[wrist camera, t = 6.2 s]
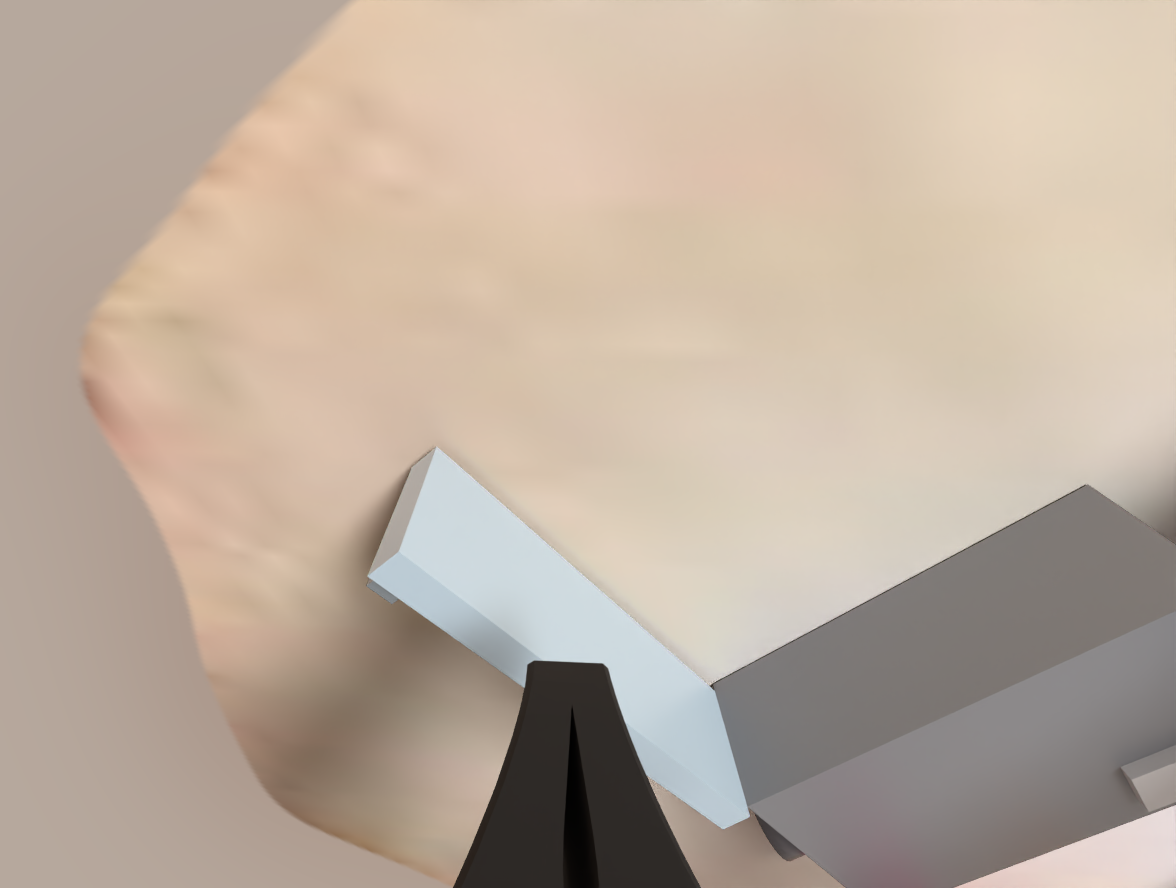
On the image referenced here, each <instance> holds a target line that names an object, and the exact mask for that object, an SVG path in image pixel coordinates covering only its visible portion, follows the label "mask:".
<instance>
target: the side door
mask: <svg viewBox="0 0 1176 888" xmlns="http://www.w3.org/2000/svg"><path fill="white" fill-rule="evenodd" d="M367 576H368V577H369V580H368V583H367V585H366V586H367V587H368V588H370V589H371V590H372V591H374V592H375V593H377V594H378V595H380V596H381V597H382V598H384V599H385V600H387V601H388V602H390V603H391V604H393V603H394V602H396V601H397V600H398V599H400V600H401V601H403V602H404V603H405V604H407V605H408V606H410V607H411V608H412V609H414V610H415V611H417V612H418V613H420V614H421V615H422V616H424V617H425V618H427V619H428V620H429V621H431V622H432V623H434V624H435V625H436V626H438V627H439V628H441V629H442V630H443V631H445V632H446V633H448V634H449V635H450V636H452V637H453V638H455V639H456V640H457V641H459V642H460V643H462V644H463V645H464V646H466V647H467V648H469V649H470V650H471V651H473V652H474V653H476V654H477V655H478V656H480V657H481V658H483V659H484V660H486V661H487V662H488V663H490V664H491V665H493V666H494V667H495V668H497V669H498V670H500V671H501V672H502V673H504V674H505V675H507V676H508V677H509V678H511V679H512V680H514V681H515V682H516V683H518V684H519V685H521V686H522V687H523V688H525V682H526V673H527V664H529V663H531V662H532V661H534V660H538V661H561V662H583V663H603V664H604V665H605V666H606V667H607V668H608V669H609V673H610V677H611V681H612V684H613V688H614V691H615V694H616V697H617V700H618V704H619V706H620V709H621V712H622V715H623V718H624V721H625V723H626V726H627V729H628V731H629V734H630V737H631V739H632V742H633V745H634V747H635V750H636V752H637V755H638V757H639V759H640V762H641V764H642V766H643V769H644V771H645V773H646V775H647V776H648V777H650V778H651V779H653V780H654V781H655V782H657V783H658V784H660V785H661V786H662V787H664V788H665V789H667V790H668V791H669V792H671V793H672V794H674V795H675V796H677V797H678V798H679V799H681V800H682V801H684V802H685V803H686V804H688V805H689V806H691V807H692V808H693V809H695V810H696V811H698V812H699V813H700V814H702V815H703V816H705V817H706V818H707V819H709V820H710V821H712V822H713V823H714V824H716V825H717V826H719V827H720V828H721V829H726V828H728V827H730V826H732V825H734V824H736V823H738V822H740V821H742V820H745V819H747V818H749V817H750V814H749V811H748V807H747V804H746V800H745V797H744V793H743V789H742V786H741V782H740V779H739V775H738V772H737V768H736V765H735V761H734V757H733V754H732V750H731V747H730V743H729V740H728V736H727V733H726V729H725V725H724V722H723V718H722V715H721V711H720V708H719V704H718V701H717V697H716V693H715V691H714V690H713V689H712V688H711V687H710V686H709V685H707V684H706V683H705V682H704V681H703V680H702V679H701V678H699V677H698V676H697V675H696V674H695V673H694V672H693V671H692V670H690V669H689V668H688V667H687V666H686V665H685V664H684V663H682V662H681V661H680V660H679V659H678V658H677V657H676V656H674V655H673V654H672V653H671V652H670V651H669V650H668V649H667V648H665V647H664V646H663V645H662V644H661V643H660V642H659V641H657V640H656V639H655V638H654V637H653V636H652V635H651V634H649V633H648V632H647V631H646V630H645V629H644V628H643V627H642V626H640V625H639V624H638V623H637V622H636V621H635V620H634V619H632V618H631V617H630V616H629V615H628V614H627V613H626V612H624V611H623V610H622V609H621V608H620V607H619V606H618V605H617V604H615V603H614V602H613V601H612V600H611V599H610V598H609V597H607V596H606V595H605V594H604V593H603V592H602V591H601V590H599V589H598V588H597V587H596V586H595V585H594V584H593V583H591V582H590V581H589V580H588V579H587V578H586V577H585V576H584V575H582V574H581V573H580V572H579V571H578V570H577V569H576V568H574V567H573V566H572V565H571V564H570V563H569V562H568V561H566V560H565V559H564V558H563V557H562V556H561V555H560V554H559V553H557V552H556V551H555V550H554V549H553V548H552V547H551V546H549V545H548V544H547V543H546V542H545V541H544V540H543V539H541V538H540V537H539V536H538V535H537V534H536V533H535V532H534V531H532V530H531V529H530V528H529V527H528V526H527V525H526V524H524V523H523V522H522V521H521V520H520V519H519V518H518V517H516V516H515V515H514V514H513V513H512V512H511V511H510V510H509V509H507V508H506V507H505V506H504V505H503V504H502V503H501V502H499V501H498V500H497V499H496V498H495V497H494V496H493V495H491V494H490V493H489V492H488V491H487V490H486V489H485V488H483V487H482V486H481V485H480V484H479V483H478V482H477V481H476V480H474V479H473V478H472V477H471V476H470V475H469V474H468V473H466V472H465V471H464V470H463V469H462V468H461V467H460V466H458V465H457V464H456V463H455V462H454V461H453V460H452V459H451V458H449V457H448V456H447V455H446V454H445V453H444V452H443V451H441V450H440V449H439V448H438V447H435V448H434V449H433V450H432V451H431V452H429V453H428V454H427V455H426V456H425V457H423V458H422V459H421V460H420V461H418V462H417V463H416V464H415V465H414V466H412V468H411V471H410V473H409V475H408V478H407V480H406V483H405V485H404V488H403V490H402V493H401V495H400V497H399V500H398V502H397V505H396V507H395V510H394V512H393V514H392V517H391V519H390V522H389V524H388V527H387V529H386V532H385V534H384V536H383V539H382V541H381V544H380V546H379V549H378V551H377V553H376V556H375V558H374V561H373V563H372V566H371V568H370V571H369V573H368V575H367Z"/></svg>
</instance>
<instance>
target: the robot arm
mask: <svg viewBox="0 0 1176 888" xmlns="http://www.w3.org/2000/svg"><path fill="white" fill-rule="evenodd" d="M453 888H701V887H700V885H699V883H698V881H697V879H696V878H695V876H694V874H693V872H692V870H691V868H690V866H689V864H688V862H687V860H686V858H685V857H684V855H683V853H682V851H681V849H680V847H679V845H678V842H677V840H676V838H675V836H674V834H673V832H672V830H671V828H670V826H669V824H668V822H667V820H666V818H665V816H664V814H663V812H662V809H661V807H660V805H659V803H658V801H657V799H656V796H655V794H654V792H653V789H652V787H651V785H650V783H649V780H648V778H647V776H646V773H645V771H644V769H643V766H642V764H641V762H640V759H639V757H638V755H637V752H636V750H635V747H634V745H633V742H632V739H631V737H630V734H629V731H628V729H627V726H626V723H625V721H624V718H623V715H622V712H621V709H620V706H619V704H618V700H617V697H616V694H615V691H614V688H613V684H612V681H611V677H610V673H609V669H608V668H607V667H606V666H605V665H604V664H603V663H583V662H561V661H538V660H534V661H532V662H531V663H529V664H527V673H526V682H525V688H524V693H523V698H522V703H521V707H520V711H519V715H518V718H517V722H516V725H515V729H514V732H513V736H512V739H511V742H510V745H509V748H508V751H507V754H506V757H505V760H504V763H503V766H502V769H501V772H500V775H499V778H498V781H497V783H496V786H495V789H494V791H493V794H492V797H491V799H490V802H489V804H488V807H487V809H486V811H485V814H484V816H483V819H482V821H481V824H480V826H479V829H478V831H477V834H476V836H475V839H474V841H473V844H472V846H471V848H470V851H469V853H468V855H467V858H466V860H465V862H464V864H463V867H462V869H461V871H460V873H459V876H458V878H457V880H456V882H455V885H454V887H453Z"/></svg>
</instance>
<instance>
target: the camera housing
mask: <svg viewBox="0 0 1176 888" xmlns="http://www.w3.org/2000/svg"><path fill="white" fill-rule="evenodd" d="M713 686H714V690H715V693H716V697H717V701H718V704H719V708H720V711H721V715H722V718H723V722H724V725H725V729H726V733H727V736H728V740H729V743H730V747H731V750H732V754H733V757H734V761H735V765H736V768H737V772H738V775H739V779H740V782H741V786H742V789H743V793H744V797H745V800H746V804H747V807H748V808H749V809H751V810H752V811H753V812H754V813H755V815H756V817H757V820H758V822H759V824H760V826H761V828H762V830H763V832H764V833H765V835H766V837H767V838H768V840H769V842H770V843H771V845H772V846H773V848H774V849H775V850H776V851H777V853H778V854H779V855H780V856H781V857H782V858H783V859H785V860H787V861H792V860H794V859H797V858H799V857H801V856H804V855H807V856H808V857H809V858H810V859H812V860H813V861H814V862H815V863H816V864H818V865H819V866H820V867H821V868H822V869H824V870H825V871H826V872H827V873H829V874H830V875H831V876H832V877H833V878H835V879H836V880H837V881H838V882H839V883H841V884H842V885H843V886H844V887H846V888H954V887H957V886H959V885H962V884H965V883H967V882H970V881H973V880H975V879H978V878H981V877H984V876H986V875H989V874H992V873H994V872H997V871H1000V870H1002V869H1005V868H1008V867H1010V866H1013V865H1016V864H1018V863H1021V862H1024V861H1026V860H1029V859H1032V858H1034V857H1037V856H1040V855H1043V854H1045V853H1048V852H1051V851H1053V850H1056V849H1059V848H1061V847H1064V846H1067V845H1069V844H1072V843H1075V842H1077V841H1080V840H1083V839H1085V838H1088V837H1091V836H1093V835H1096V834H1099V833H1102V832H1104V831H1107V830H1110V829H1112V828H1115V827H1118V826H1120V825H1123V824H1126V823H1128V822H1131V821H1134V820H1136V819H1139V818H1142V817H1144V816H1147V815H1150V814H1153V813H1155V812H1158V811H1161V810H1163V809H1166V808H1169V807H1171V806H1174V805H1176V544H1174V543H1173V542H1171V541H1170V540H1168V539H1167V538H1165V537H1164V536H1163V535H1161V534H1160V533H1158V532H1157V531H1155V530H1154V529H1152V528H1151V527H1149V526H1148V525H1146V524H1145V523H1144V522H1142V521H1141V520H1139V519H1138V518H1136V517H1135V516H1133V515H1132V514H1130V513H1129V512H1127V511H1126V510H1124V509H1123V508H1122V507H1120V506H1119V505H1117V504H1116V503H1114V502H1113V501H1111V500H1110V499H1108V498H1107V497H1105V496H1104V495H1103V494H1101V493H1100V492H1098V491H1097V490H1095V489H1094V488H1092V487H1091V486H1089V485H1086V486H1084V487H1082V488H1080V489H1078V490H1077V491H1075V492H1073V493H1071V494H1069V495H1067V496H1065V497H1063V498H1062V499H1060V500H1058V501H1056V502H1054V503H1052V504H1050V505H1048V506H1047V507H1045V508H1043V509H1041V510H1039V511H1037V512H1035V513H1033V514H1032V515H1030V516H1028V517H1026V518H1024V519H1022V520H1020V521H1018V522H1017V523H1015V524H1013V525H1011V526H1009V527H1007V528H1005V529H1003V530H1001V531H1000V532H998V533H996V534H994V535H992V536H990V537H988V538H986V539H985V540H983V541H981V542H979V543H977V544H975V545H973V546H971V547H970V548H968V549H966V550H964V551H962V552H960V553H958V554H956V555H955V556H953V557H951V558H949V559H947V560H945V561H943V562H941V563H940V564H938V565H936V566H934V567H932V568H930V569H928V570H926V571H924V572H923V573H921V574H919V575H917V576H915V577H913V578H911V579H909V580H908V581H906V582H904V583H902V584H900V585H898V586H896V587H894V588H893V589H891V590H889V591H887V592H885V593H883V594H881V595H879V596H878V597H876V598H874V599H872V600H870V601H868V602H866V603H864V604H863V605H861V606H859V607H857V608H855V609H853V610H851V611H849V612H848V613H846V614H844V615H842V616H840V617H838V618H836V619H834V620H832V621H831V622H829V623H827V624H825V625H823V626H821V627H819V628H817V629H816V630H814V631H812V632H810V633H808V634H806V635H804V636H802V637H801V638H799V639H797V640H795V641H793V642H791V643H789V644H787V645H786V646H784V647H782V648H780V649H778V650H776V651H774V652H772V653H771V654H769V655H767V656H765V657H763V658H761V659H759V660H757V661H755V662H754V663H752V664H750V665H748V666H746V667H744V668H742V669H740V670H739V671H737V672H735V673H733V674H731V675H729V676H727V677H725V678H724V679H722V680H720V681H718V682H716V683H714V684H713Z"/></svg>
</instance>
